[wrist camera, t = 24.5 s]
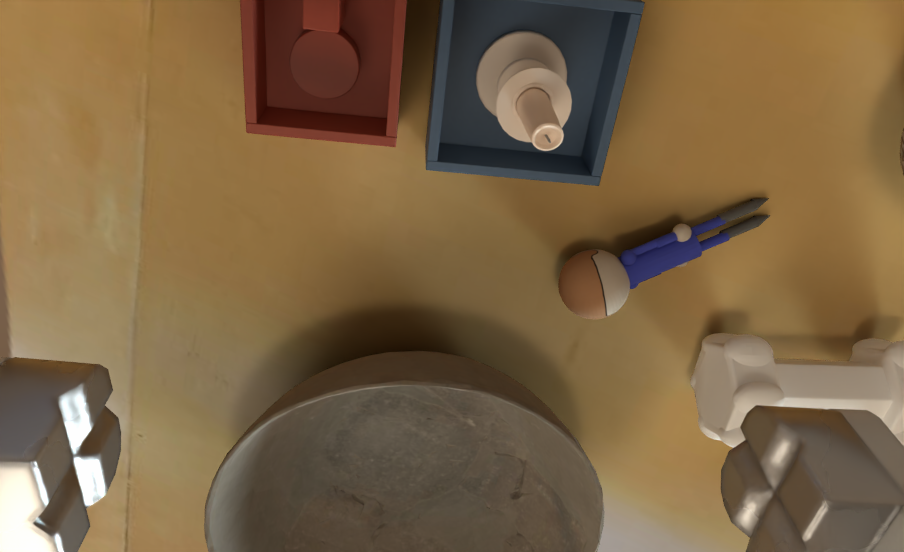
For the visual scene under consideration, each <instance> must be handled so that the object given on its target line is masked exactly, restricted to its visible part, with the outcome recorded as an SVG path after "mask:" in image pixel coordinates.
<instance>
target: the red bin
mask: <svg viewBox="0 0 904 552" xmlns="http://www.w3.org/2000/svg"><path fill="white" fill-rule="evenodd" d="M240 7H241V29H242V50H243V72H244V94H245V115H246V132H247V133H253V134H263V135H274V136H284V137H295V138H305V139H316V140H326V141H337V142H347V143H358V144H369V145H379V146H390V147H396V138H397V126H398V113H399V100H400V87H401V74H402V61H403V48H404V35H405V21H406V8H407V0H345V16H344V21H343V23H342V25H341V27H340V29H341V30H343V31H344V32H346V33H347V34H348V35H349V36H350V37H351V38H352V39H353V40H354V42H355V44H356V45H357V47H358V50H359V53H360V58H361V66H360V71H359V75H358V78H357V81H356V83H355V85H354V86H353V87H352V89H351V90H350V91H349V92H347V93H346V94H345V95H343V96H341V97H338V98H334V99H320V98H317V97H314V96H312V95H310V94H308V93H306V92H305V91H304V90H303V89H302V88H300V87H299V85H298V84H297V83H296V81H295V80H294V78H293V76H292V73H291V70H290V63H289V59H290V52H291V49H292V47H293V45H294V43H295V42H296V40H297V39H298V37H299V36H300V35H301V34H302V33H303V32H304V31H305V30H307V29H303V0H240Z"/></svg>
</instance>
